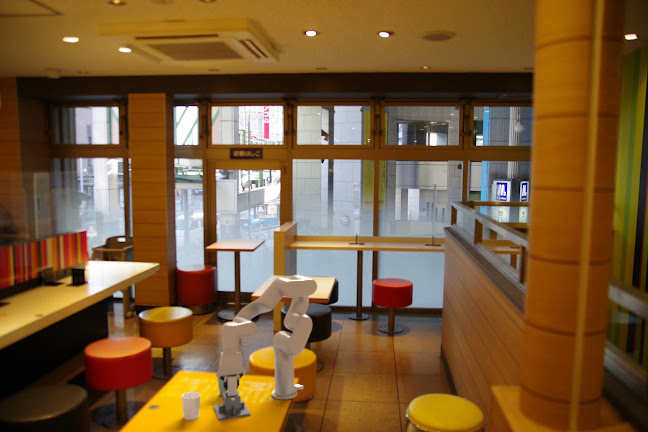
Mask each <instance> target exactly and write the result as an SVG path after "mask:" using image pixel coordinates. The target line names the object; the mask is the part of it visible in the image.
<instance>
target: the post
mask: <svg viewBox="0 0 648 432" xmlns="http://www.w3.org/2000/svg"><path fill="white" fill-rule="evenodd" d="M227 385H228V390H227V391H226V397H227V398H229V397H235V396H237V391H238V389H237V375H236V374H234V375H227Z"/></svg>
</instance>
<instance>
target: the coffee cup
mask: <svg viewBox="0 0 648 432" xmlns="http://www.w3.org/2000/svg"><path fill="white" fill-rule="evenodd" d="M220 375H221V373H220ZM222 376H223V375H222ZM217 382H218V389H219V390H218V391H219V396H221V397H223V393H225V392H226V390H225V388H224V381H223V380H221V379H220V378H218V377H217Z"/></svg>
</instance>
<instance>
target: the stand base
mask: <svg viewBox="0 0 648 432" xmlns="http://www.w3.org/2000/svg"><path fill="white" fill-rule="evenodd" d="M213 409H214V411H215V414H216V416H217V419H218V421H227V420H231V419H236V418H237V419H238V418H243V417H250V416H251V412H250V410H249V408H248V406H247V405H246V403H245V401H244V400H242V399H241V394H240V393H239V391H238V390H237V396H235V397H229V398H227V397H226V392H225V393H223V396H222V403H221V404H214V405H213Z"/></svg>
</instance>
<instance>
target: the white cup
mask: <svg viewBox="0 0 648 432" xmlns="http://www.w3.org/2000/svg"><path fill="white" fill-rule="evenodd" d="M181 400H182V401H181V402H182V412H183V413H182V414H183V419H184V420H187V421H194V420H196V419H198V418H199V417H200V407H201V393H200V392H198V391H189V392H184V393H183V394H182V396H181Z"/></svg>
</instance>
